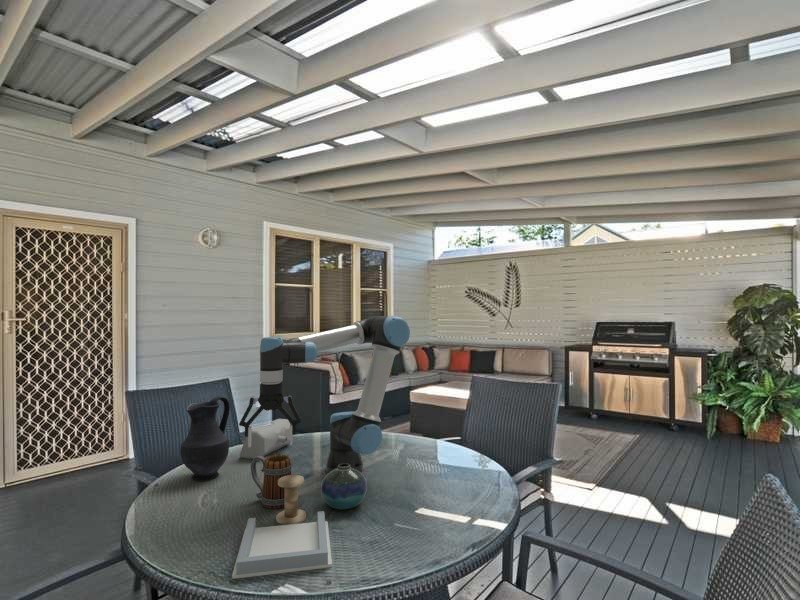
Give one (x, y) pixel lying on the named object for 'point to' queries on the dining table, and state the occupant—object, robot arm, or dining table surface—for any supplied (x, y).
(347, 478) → the vase
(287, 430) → the tank
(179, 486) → the dining table surface
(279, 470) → the mug
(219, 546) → the dining table surface
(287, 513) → the bobbin
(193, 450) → the pitcher
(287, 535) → the grey square tray
